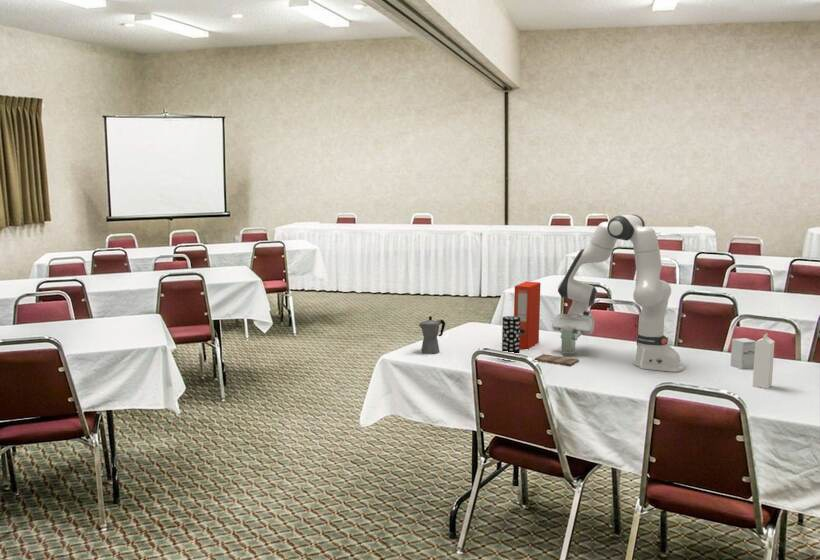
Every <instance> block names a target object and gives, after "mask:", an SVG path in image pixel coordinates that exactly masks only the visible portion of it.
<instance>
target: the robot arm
mask: <svg viewBox="0 0 820 560" xmlns="http://www.w3.org/2000/svg"><path fill="white" fill-rule="evenodd" d="M618 240H622V241H630V242H631V243H632V245H633V246H632V247H633V253H634V261H635V269H636V271H635V287H634V291H633V296H632V297H633V300H634V302H635V303H636V304H637V305H638V306H640V307H642V308H641V312H640V313H639V316H638V331H637V332H638V333H636V346H637V347H636V352H635V357H634V360H633V365H635V366H637V367H638V368H640V369H643V370H649V371H650V370H651V371H658V372H659V371H661V372H671V373H677V372H682V371H683V370H685V369H686V364H685V363H683V362H681V358H680V353H679V352H678V351H676V349H674V348H673V347H672V346H670V345H669V344H668V342H669V336H668V337H667V336H665V335H664V332H665V318H666V312H667V308H668V304H669V298H670V296H671V294H672V287H671V285H670V284H669V282H667V280H666V281H665V280H662V279H660V278H661V277H660V276H661V270H662V268H663V267H662V258H661V252H660V251H661V250H660V244H659V239H658V237H657V234H656V231H655V229H654V228H653V227H650V226H646V223H645V221H644V219H643V218H642V217H641V216H639V215H637V214H621V215H617V216H614V217H612V218H611V219H610V220H609V221H603V222H600V223H599V224H598V226H597V227H596V229H595V230H594V233H593V234H592V237H591V240H590V243H588V246H587V247H585V248H583V249H580V250H579V252H578V253H577V255H576V256H575V258H574V259H573V261H572V263H571V265H570V266H569V268H568V270H567V272H566V274H565V276H564V277H563V279H561V281H560V282H559V284H558V286H557V292H558V294H559V296H560V297H561V298H565V299H569V300H571V301H572V303H571V305H570V307H569V309H568V312H567V314H566V313H558V314H556V316H555V317H554V319H553V322H552V324H551V325H552V326H551V327H552V329H553V331H556V332H557V331H558V332H560V339H562V327H564V326H572V327H576V329H575V330H576V335H574V337H573V340H575V341H577V340H578V339H579V338H580V337H581V336H582V335H589V336H590V335H592V334H593V332H594V329H595V321H596V320H595V318H594V315H593V314H592V313H593V312H592V313H591V312H590V311H588V310H589V308H590V307H591V306H594V305H595V300H596V299H597V296H598V291H597V288H596V287H595V286H594V285H591V284H588V283H585V282H582V281H580V280H577V279H575V278H574V277H575V276H576V274H577V273H578V270H579V269H580V267H581V266H582V265H585V264H597V263H603V262H606V261H607V260H609V258H611V255H612V253H613V250H614V249H615V246H616V244H617V241H618Z"/></svg>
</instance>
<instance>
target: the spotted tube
mask: <svg viewBox="0 0 820 560" xmlns="http://www.w3.org/2000/svg"><path fill="white" fill-rule="evenodd" d="M501 330H502V334H501V339H502V342H501V344H502V345H501V352H502V351H508V352H514V353H520V354H521V352H520V351H521V349H520V317H516V316H514V315H513V316H512V315H507V316H506V315H505V316H503V317H502V329H501ZM502 360H503V361H505V362H506V361H507V360H504V359H502ZM507 362H508V361H507Z"/></svg>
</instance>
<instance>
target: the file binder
mask: <svg viewBox="0 0 820 560" xmlns="http://www.w3.org/2000/svg"><path fill="white" fill-rule="evenodd" d="M513 297H514V299H513V300H514V303H513V308H514V309H513V316H516V317H520V350H524V349H528V350H529V348H530V349H531V348H533V347H534V346H536V345H538V344H539V343H540V318H541V317H540V316H541V315H540V313H541V312H540V311H541V310H540V309H541V306H540V305H541V282H537V281H524V282H522V283H519V284H517V285H514V296H513ZM535 344H536V345H535ZM532 346H533V347H532Z"/></svg>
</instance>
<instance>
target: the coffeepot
mask: <svg viewBox="0 0 820 560" xmlns="http://www.w3.org/2000/svg"><path fill="white" fill-rule="evenodd" d="M432 319H433V316H428V320H427V319H426V320H423V321H421V322H420V323H419V324H418V326H419V327H420V328H421V331H422V336H423V339H422V343H421V345H422V346H421V350H420V351H421V353H422V354H425V355H435V354H439V353H440V346H439V341H438V337H442V336H443V333H444V330H445V328H446V321H444V320H443V319H438V320H437V319H436V320H432ZM440 325H441V327H440ZM440 328H441V329H440ZM439 330H440V333H439Z"/></svg>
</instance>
